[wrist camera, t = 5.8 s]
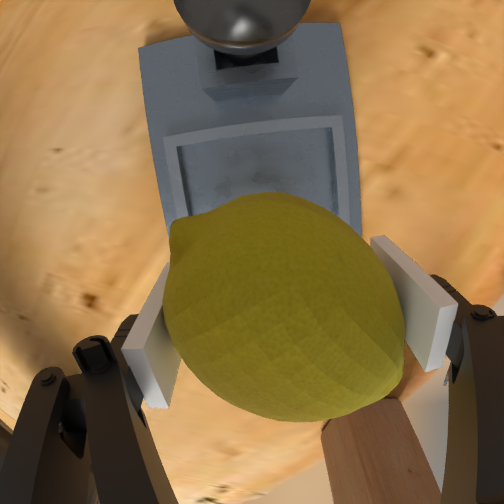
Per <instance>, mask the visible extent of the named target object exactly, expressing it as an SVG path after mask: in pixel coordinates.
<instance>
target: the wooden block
mask: <svg viewBox="0 0 504 504" xmlns="http://www.w3.org/2000/svg"><path fill="white" fill-rule="evenodd" d="M321 442H322V447H323V452H324V457H325V462H326V466H327V471H328V476H329V481H330V486H331V492H332V497H333V502H334V504H440V501H441V492H440V490H439V487H438V485H437V482H436V480H435V477H434V475H433V473H432V470H431V468H430V466H429V463H428V461H427V459H426V456H425V454H424V452H423V450H422V448H421V445H420V443H419V440H418V438H417V436H416V434H415V432H414V429H413V427H412V425H411V423H410V421H409V419H408V417H407V414H406V412H405V410H404V408H403V406H402V404H401V402H400V401H399V400H397V399H386V398H382V399H381V400H379V401H376V402H374V403H372V404H369V405H367V406H364V407H362V408H360V409H358V410H356V411H354V412H352V413H350V414H347V415H344V416H341V417H337V418H333V419H331V420H330V422H329V423H328V425H327V426H326V427H325V429H324V430H323V432H322V434H321Z"/></svg>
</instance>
